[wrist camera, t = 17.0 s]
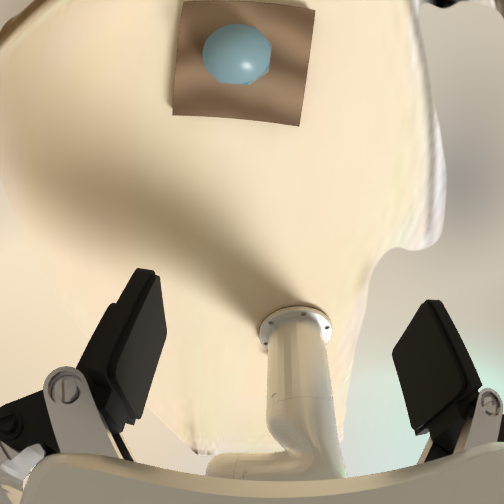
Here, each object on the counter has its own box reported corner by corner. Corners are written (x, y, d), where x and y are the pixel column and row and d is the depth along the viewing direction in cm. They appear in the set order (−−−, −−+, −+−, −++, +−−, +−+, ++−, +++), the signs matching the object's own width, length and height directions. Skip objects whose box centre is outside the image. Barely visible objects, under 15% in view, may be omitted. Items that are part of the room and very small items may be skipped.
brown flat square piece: (297, 124, 30) (299, 126, 29) (176, 113, 30) (172, 115, 28) (313, 13, 22) (315, 10, 21) (187, 4, 22) (183, 1, 21)
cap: (266, 87, 26) (266, 87, 22) (210, 82, 26) (199, 82, 22) (273, 36, 23) (274, 26, 19) (215, 32, 23) (206, 23, 19)
